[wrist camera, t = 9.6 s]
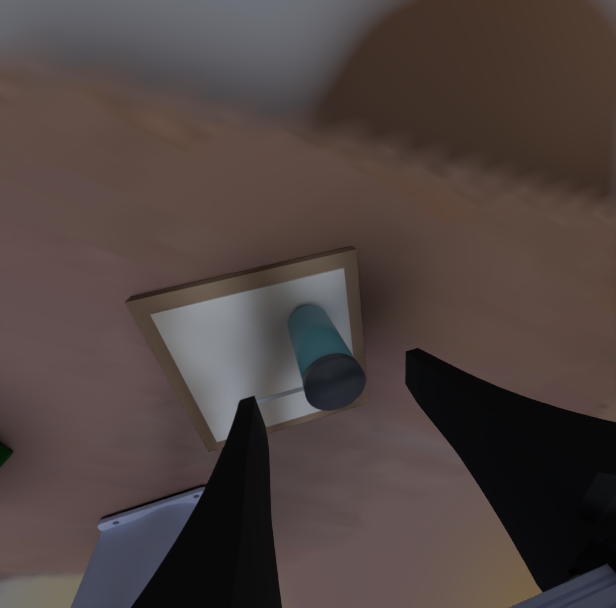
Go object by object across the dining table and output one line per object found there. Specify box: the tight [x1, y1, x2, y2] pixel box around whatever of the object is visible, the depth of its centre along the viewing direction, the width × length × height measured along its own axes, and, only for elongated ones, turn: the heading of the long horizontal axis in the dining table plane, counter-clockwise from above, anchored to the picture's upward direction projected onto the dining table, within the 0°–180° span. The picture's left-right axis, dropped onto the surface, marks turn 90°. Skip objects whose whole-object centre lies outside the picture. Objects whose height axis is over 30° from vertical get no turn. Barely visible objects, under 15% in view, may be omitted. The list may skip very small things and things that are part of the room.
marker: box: [288, 305, 366, 411], centre depth 15 cm, size 3×3×6 cm
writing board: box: [125, 246, 368, 452], centre depth 19 cm, size 14×14×1 cm
